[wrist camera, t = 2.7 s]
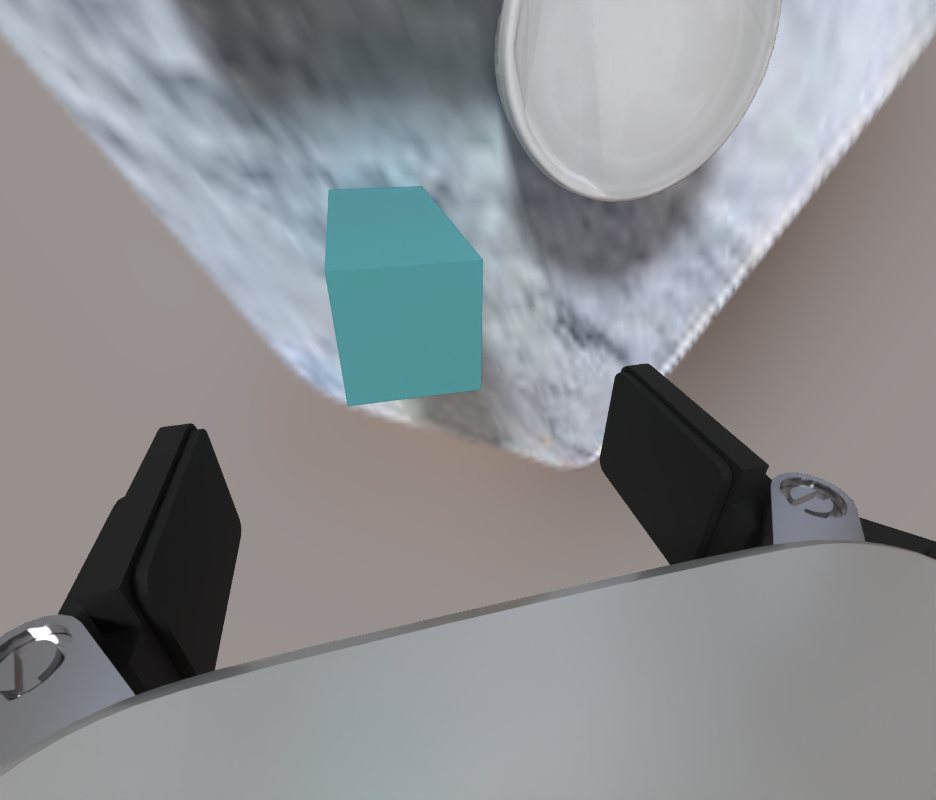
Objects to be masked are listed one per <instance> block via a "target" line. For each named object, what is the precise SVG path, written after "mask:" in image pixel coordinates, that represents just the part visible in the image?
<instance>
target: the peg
mask: <svg viewBox="0 0 936 800" xmlns="http://www.w3.org/2000/svg"><path fill="white" fill-rule="evenodd" d="M325 276H326V282H327V287H328V293H329V299H330V305H331V311H332V317H333V323H334V328H335V334H336V340H337V346H338V352H339V358H340V364H341V370H342V375H343V381H344V387H345V393H346V399H347V405H348V406H354V405H362V404H370V403H378V402H386V401H394V400H402V399H410V398H418V397H425V396H433V395H441V394H449V393H457V392H465V391H473V390H481V351H482V291H483V259H482V258H481V257H480V256H479V255H478V253H477V252H476V251H475V250H474V248H473V247H472V246H471V245H470V244H469V242H468V241H467V240H466V239H465V238H464V236H463V235H462V234H461V233H460V231H459V230H458V229H457V228H456V227H455V225H454V224H453V223H452V222H451V221H450V219H449V218H448V217H447V216H446V215H445V213H444V212H443V211H442V210H441V208H440V207H439V206H438V205H437V204H436V202H435V201H434V200H433V199H432V198H431V196H430V195H429V194H428V193H427V192H426V190H425V189H424V188H423V187H422V186H414V187H391V188H368V189H345V190H329V194H328V215H327V237H326V258H325Z"/></svg>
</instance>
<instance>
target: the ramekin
mask: <svg viewBox="0 0 936 800" xmlns="http://www.w3.org/2000/svg"><path fill="white" fill-rule="evenodd" d="M781 3H782V0H503V1H502V7H501V12H500V15H499V17H498V25H497V31H496V35H495V53H494V61H495V76H496V80H497V89H498V93H499V96H500V99H501V104H502V108H503V110H504V111H505V113H506V116H507V119H508V122H509V123H510V125H511V126H512V128H513V131H514V133H515V135H516V137H517V139H518V141H519V143H520V144H521V146H522V148H523V149H524V151H525V152H526V153H527V155H528V156H529V158H530V159H531V160H532V162H533V163H534V164H535V165H536V166H537V167H538V168H539V169H540V170H541V171H542V172H543V173H544V174H545V175H546V176H547V177H548V178H549V179H551V180H552V181H554V182H555V183H556V184H558V185H559V186H561V187H563V188H565V189H566V190H568V191H570V192H573V193H575V194H577V195H580V196H583V197H586V198H590V199H594V200H599V201H607V202H620V201H630V200H636V199H641V198H645V197H648V196H650V195H654V194H657V193H659V192H661V191H663V190H666V189H667V188H669V187H671V186H673V185H675V184H677V183H678V182H680V181H682V180H683V179H685V178H686V177H688V176H689V175H690V174H692V173H693V172H694V171H695V170H697V169H698V168H699V167H700V166H701V165H703V164H704V163H705V162H706V161H707V160H708V159H709V158H710V157H711V156H712V155H713V154H714V153H715V152H716V151H717V150H718V149H719V148H720V147H721V146H722V145H723V143H724V142H725V141H726V140H727V139H728V137H729V136H730V135H731V133H732V132H733V131H734V129H735V128H736V127H737V125H738V124H739V122H740V121H741V119H742V117H743V116H744V114H745V113H746V111H747V109H748V108H749V106H750V104H751V102H752V100H753V98H754V97H755V95H756V93H757V90H758V88H759V86H760V84H761V82H762V80H763V78H764V76H765V73H766V70H767V68H768V64H769V60H770V57H771V54H772V51H773V48H774V43H775V39H776V34H777V30H778V26H779V18H780V13H781Z"/></svg>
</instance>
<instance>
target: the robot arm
mask: <svg viewBox="0 0 936 800" xmlns="http://www.w3.org/2000/svg"><path fill="white" fill-rule="evenodd" d="M600 465H601V468H602V471H603V472H604V474H605V475H606V477H607V478H608V479H609V481H610V482H611V483H612V485H613V486H614V488H615V489H616V490H617V492H618V493H619V494H620V496H621V497H622V499H623V500H624V501H625V503H626V504H627V505H628V507H629V508H630V510H631V511H632V512H633V514H634V515H635V517H636V518H637V519H638V521H639V522H640V524H641V525H642V526H643V528H644V529H645V530H646V532H647V533H648V535H649V536H650V537H651V539H652V540H653V541H654V543H655V544H656V546H657V547H658V548H659V550H660V551H661V552H662V554H663V555H664V557H665V558H666V559H667V561H668V562H669V564H670V565H668V566H664V567H659V568H655V569H650V570H646V571H641V572H637V573H632V574H628V575H623V576H619V577H614V578H609V579H605V580H600V581H596V582H592V583H587V584H582V585H578V586H573V587H569V588H564V589H560V590H556V591H551V592H547V593H542V594H538V595H533V596H529V597H524V598H520V599H516V600H511V601H507V602H503V603H498V604H494V605H490V606H485V607H481V608H476V609H472V610H467V611H463V612H459V613H455V614H450V615H445V616H441V617H437V618H432V619H428V620H424V621H419V622H415V623H411V624H407V625H403V626H398V627H394V628H389V629H385V630H381V631H376V632H372V633H368V634H363V635H359V636H355V637H350V638H346V639H342V640H337V641H333V642H329V643H324V644H320V645H316V646H312V647H307V648H303V649H299V650H296V651H292V652H288V653H283V654H279V655H275V656H271V657H267V658H263V659H260V660H255V661H251V662H247V663H243V664H239V665H235V666H231V667H227V668H223V669H219V670H215V665H216V661H217V655H218V650H219V645H220V640H221V635H222V630H223V625H224V620H225V615H226V610H227V604H228V599H229V594H230V589H231V584H232V579H233V574H234V569H235V563H236V559H237V553H238V548H239V543H240V538H241V524H240V519H239V517H238V514H237V511H236V508H235V506H234V503H233V500H232V498H231V495H230V493H229V490H228V487H227V485H226V482H225V479H224V476H223V474H222V471H221V468H220V466H219V463H218V460H217V458H216V455H215V452H214V450H213V447H212V444H211V441H210V439H209V436H208V434H207V432H206V430H205V429H198V430H197V428H196V427H195V426H194V424H183V425H175V426H168V427H162V428H160V429H159V430H158V432H157V434H156V436H155V438H154V440H153V442H152V444H151V446H150V448H149V450H148V452H147V454H146V456H145V458H144V460H143V462H142V464H141V466H140V468H139V470H138V472H137V474H136V476H135V478H134V480H133V482H132V483H131V486H130V488H129V489H128V491H127V493H126V495H125V497H123V498H121V499H119V500H118V501H117V503H116V504H115V505H114V507H113V509H112V511H111V513H110V515H109V517H108V518H107V520H106V522H105V524H104V526H103V528H102V530H101V532H100V534H99V536H98V538H97V540H96V542H95V544H94V546H93V547H92V549H91V551H90V553H89V555H88V557H87V559H86V561H85V563H84V565H83V567H82V569H81V571H80V573H79V574H78V577H77V579H76V580H75V582H74V584H73V586H72V588H71V590H70V592H69V594H68V596H67V598H66V600H65V602H64V603H63V605H62V607H61V609H60V611H59V613H58V615H52V616H45V617H41V618H38V619H35V620H32V621H29V622H26V623H24V624H22V625H20V626H18V627H16V628H15V629H13V630H11V631H9V632H7V633H5V634H4V635H3V636H1V637H0V800H936V542H935V541H932V540H929V539H926V538H923V537H919V536H916V535H913V534H910V533H907V532H904V531H900V530H897V529H894V528H891V527H888V526H885V525H882V524H878V523H875V522H872V521H869V520H866V519H862V518H860V517H859V514H858V510H857V508H856V506H855V504H854V502H853V500H852V499H851V498H850V497H849V496H848V495H847V494H846V493H845V492H844V491H842V490H841V489H840V488H838V487H837V486H835V485H834V484H832V483H830V482H827V481H826V480H824V479H821V478H818V477H815V476H812V475H808V474H803V473H798V472H789V473H783V474H779V475H777V476H776V477H775V478H773V479H772V480H771V479H770V478H769V477H768V476H767V475H766V471H767V469H768V467H769V465H768V464H767V463H765V462H764V461H763V460H762V459H761V458H759V456H757V455H756V454H755V453H754V452H752V451H751V450H750V449H749V448H748V447H747V446H745V445H744V444H743V443H742V442H741V441H740V440H738V439H737V438H736V437H735V436H734V435H732V434H731V433H730V432H729V431H728V430H727V429H726V428H724V427H723V426H722V425H721V424H720V423H718V422H717V421H716V420H715V419H714V418H713V417H711V416H710V415H709V414H708V413H707V412H705V411H704V410H703V409H702V408H701V407H700V406H698V405H697V404H696V403H695V402H694V401H692V400H691V399H690V398H689V397H688V396H686V395H685V394H684V393H683V392H682V391H681V390H679V389H678V388H677V387H676V386H675V385H674V384H672V383H671V382H670V381H669V380H668V379H667V378H665V377H664V376H663V375H662V374H661V373H659V372H658V371H657V370H656V369H655V368H654V367H652V366H651V365H649V364H639V365H631V366H625V367H624V368H623V369H622V370H621V373H618V374H617V375H616V376H615V380H614V385H613V390H612V396H611V401H610V406H609V412H608V417H607V423H606V428H605V433H604V439H603V444H602V449H601V455H600Z"/></svg>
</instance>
